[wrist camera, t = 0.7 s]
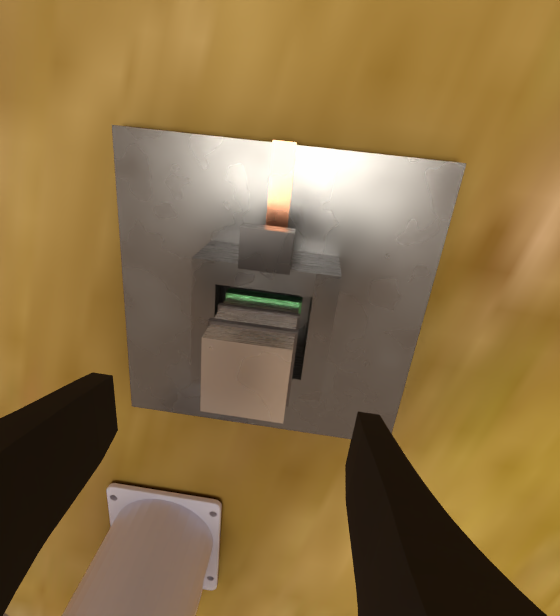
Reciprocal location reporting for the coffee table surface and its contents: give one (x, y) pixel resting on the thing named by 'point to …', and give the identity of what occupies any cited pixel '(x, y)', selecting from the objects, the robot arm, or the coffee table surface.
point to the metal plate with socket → (279, 263)
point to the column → (250, 354)
